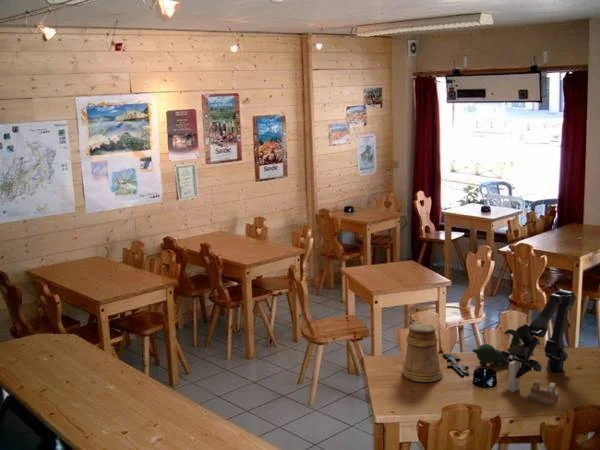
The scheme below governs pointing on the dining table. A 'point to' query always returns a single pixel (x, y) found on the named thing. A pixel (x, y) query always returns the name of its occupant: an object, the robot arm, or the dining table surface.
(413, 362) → the tankard
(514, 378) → the clay bar
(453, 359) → the nameplate
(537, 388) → the clay rack
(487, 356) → the toy figurine
